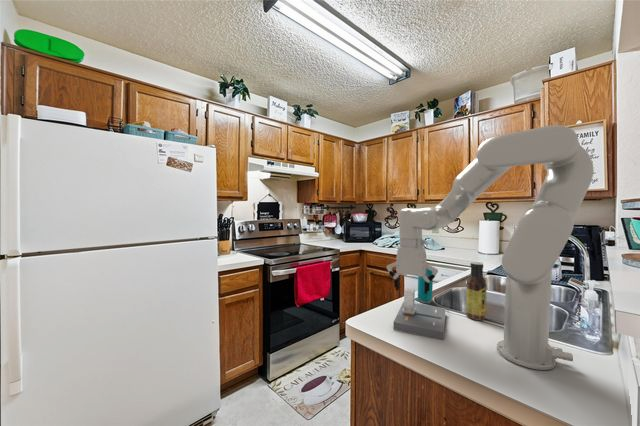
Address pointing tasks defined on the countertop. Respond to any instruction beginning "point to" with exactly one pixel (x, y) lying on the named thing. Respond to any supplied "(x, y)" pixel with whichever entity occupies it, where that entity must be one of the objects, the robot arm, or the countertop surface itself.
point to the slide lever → (409, 301)
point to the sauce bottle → (476, 293)
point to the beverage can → (421, 289)
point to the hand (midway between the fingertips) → (411, 291)
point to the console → (422, 321)
